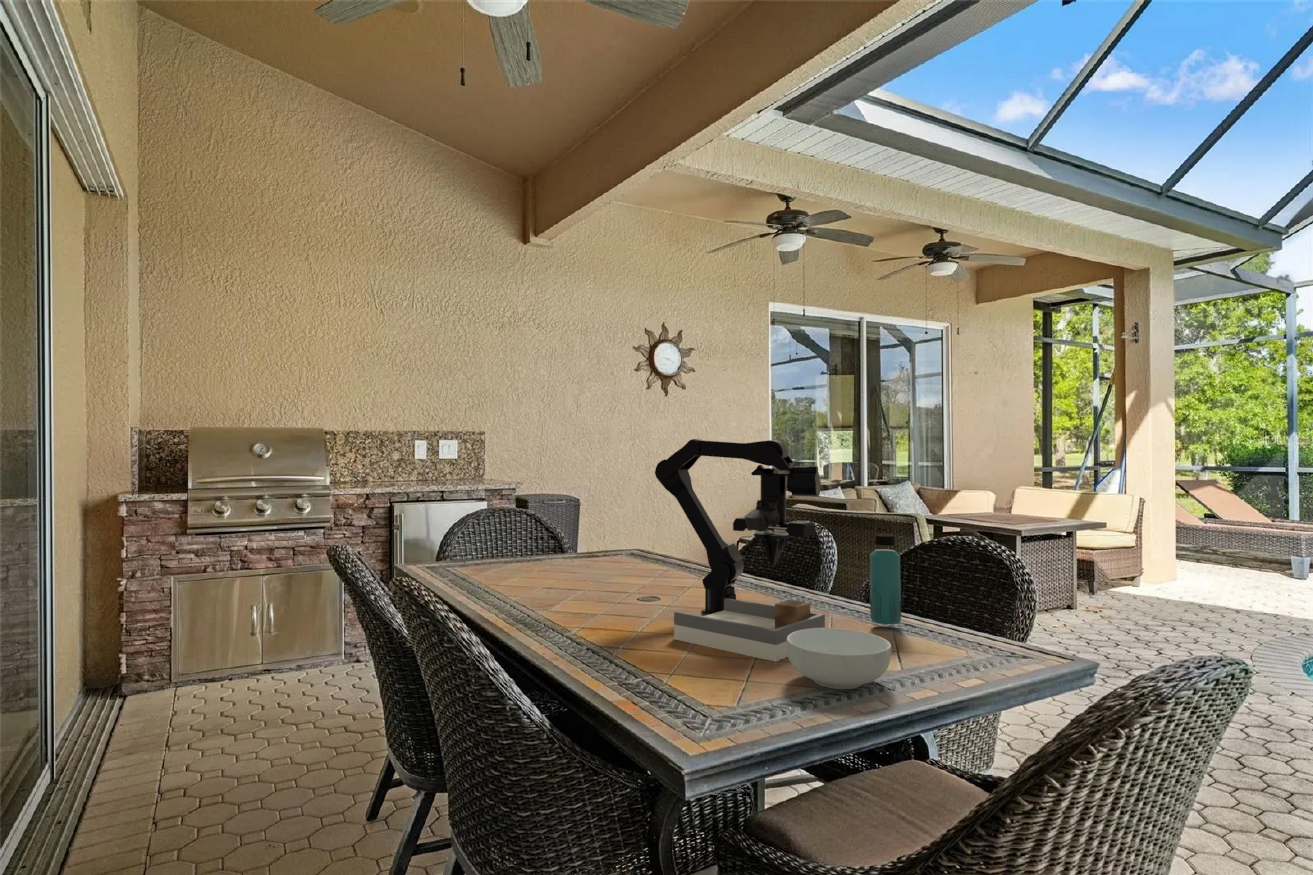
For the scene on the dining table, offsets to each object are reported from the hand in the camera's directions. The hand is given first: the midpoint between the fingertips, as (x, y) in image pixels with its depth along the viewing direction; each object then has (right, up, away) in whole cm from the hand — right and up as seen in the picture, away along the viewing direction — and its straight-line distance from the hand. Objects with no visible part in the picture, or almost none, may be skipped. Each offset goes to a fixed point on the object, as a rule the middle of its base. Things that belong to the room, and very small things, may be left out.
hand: (773, 564), depth 173 cm
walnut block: (0, -9, -22) cm, 24 cm away
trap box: (-8, -12, -20) cm, 24 cm away
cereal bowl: (+4, -12, -46) cm, 48 cm away
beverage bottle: (+23, -12, -9) cm, 27 cm away
